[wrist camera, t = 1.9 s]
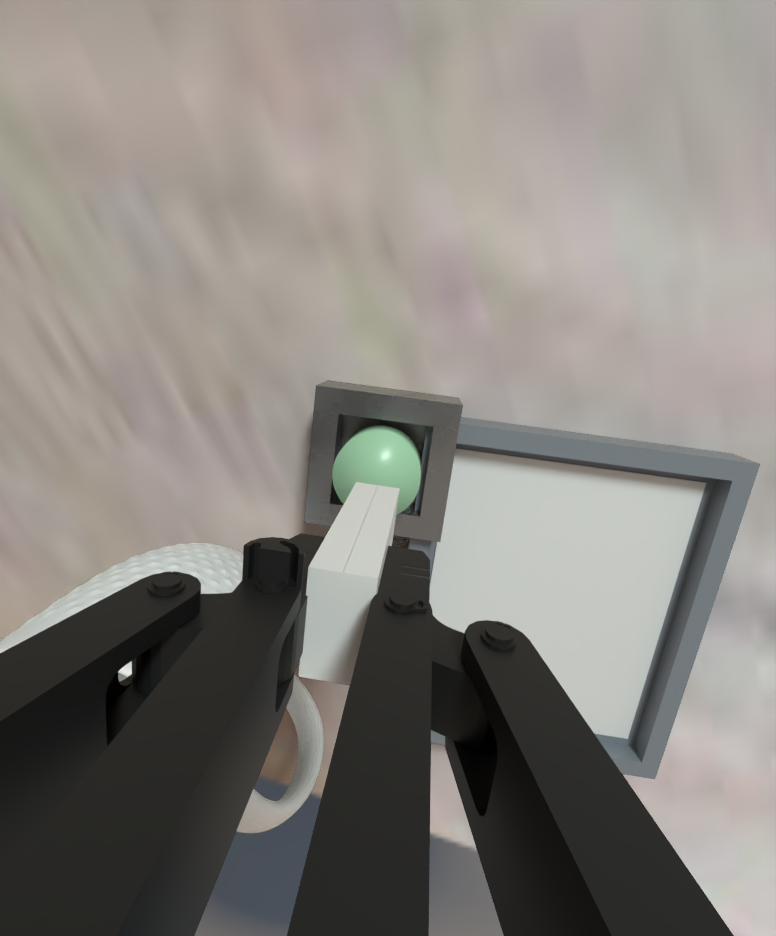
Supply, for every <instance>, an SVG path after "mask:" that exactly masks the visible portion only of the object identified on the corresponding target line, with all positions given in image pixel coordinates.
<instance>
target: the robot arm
mask: <svg viewBox="0 0 776 936" xmlns="http://www.w3.org/2000/svg"><path fill="white" fill-rule="evenodd" d="M399 490H400V488H393V487H387V486H380V485H373V484H366V483H359V482H356V484H355V485H354V487H353V489H352V491H351V492H350V494H349V496H348V498H347V500H346V501H345V503H344V505H343V507H342V508H341V510H340V512H339V514H338V515H337V517H336V519H335V521H334V523H333V524H332V526H331V528H330V530H329V531H328V533H327V535H326V537H320V536H313V535H307V534H299V535H297V536H295V537H293V538H291V539H285V538H274V537H270V538H260V539H256V540H253V541H250V542H248V543H247V544H245V545H244V552H243V572H242V581H241V582H240V583H239V585H238V586H237V587H236V588H235V590H234V591H233V592H231V593H218V594H201V583H200V581H199V580H198V578H196V577H194V576H192V575H190V574H186V573H180V572H175V571H173V572H171V571H169V572H162V573H159V574H153V575H150V576H148V577H145V578H142V579H140V580H138V581H136V582H134V583H133V584H131V585H129V586H127V587H125V588H123V589H121V590H119V591H117V592H115V593H114V594H112V595H110V596H108V597H106V598H104V599H102V600H100V601H98V602H96V603H95V604H93V605H91V606H89V607H87V608H85V609H83V610H81V611H79V612H78V613H76V614H74V615H72V616H70V617H68V618H66V619H64V620H62V621H60V622H59V623H57V624H55V625H53V626H51V627H49V628H47V629H45V630H43V631H41V632H40V633H38V634H36V635H34V636H32V637H30V638H28V639H26V640H24V641H22V642H21V643H19V644H17V645H15V646H13V647H11V648H9V649H7V650H5V651H3V652H2V653H0V936H194V935H195V932H196V930H197V927H198V925H199V922H200V920H201V917H202V915H203V912H204V910H205V907H206V905H207V902H208V900H209V897H210V895H211V892H212V890H213V887H214V885H215V883H216V880H217V878H218V875H219V873H220V870H221V868H222V865H223V863H224V860H225V858H226V855H227V853H228V850H229V848H230V846H231V843H232V841H233V838H234V836H235V833H236V831H237V828H238V826H239V823H240V821H241V818H242V816H243V813H244V811H245V808H246V806H247V803H248V801H249V798H250V796H251V794H252V791H253V789H254V786H255V783H256V781H257V779H258V776H259V774H260V771H261V769H262V766H263V764H264V761H265V759H266V756H267V754H268V751H269V749H270V746H271V744H272V741H273V739H274V737H275V734H276V732H277V729H278V727H279V724H280V722H281V719H282V717H283V714H284V712H285V709H286V707H287V704H288V702H289V699H290V697H291V694H292V691H293V682H294V672H295V669H296V667H297V665H298V662H299V660H300V666H299V677H304V678H310V679H316V680H322V681H328V682H333V683H339V684H345V685H350V687H349V691H348V695H347V699H346V703H345V707H344V711H343V715H342V719H341V723H340V727H339V731H338V735H337V739H336V743H335V747H334V751H333V755H332V759H331V763H330V767H329V771H328V775H327V779H326V783H325V787H324V791H323V795H322V799H321V803H320V806H319V811H318V814H317V818H316V822H315V826H314V831H313V834H312V838H311V842H310V846H309V851H308V854H307V858H306V862H305V867H304V870H303V874H302V878H301V882H300V886H299V890H298V894H297V898H296V902H295V906H294V910H293V914H292V918H291V922H290V926H289V930H288V934H287V936H428V927H429V926H428V925H429V924H428V923H429V847H430V846H429V845H430V767H431V730H432V731H434V732H437V733H439V734H441V735H443V736H445V747H446V751H447V755H448V758H449V761H450V764H451V767H452V771H453V774H454V777H455V780H456V783H457V787H458V790H459V793H460V796H461V800H462V803H463V806H464V809H465V812H466V816H467V819H468V822H469V825H470V828H471V832H472V835H473V838H474V841H475V845H476V848H477V851H478V854H479V857H480V861H481V864H482V867H483V870H484V873H485V877H486V880H487V883H488V886H489V889H490V893H491V896H492V899H493V902H494V905H495V909H496V912H497V915H498V918H499V922H500V925H501V928H502V931H503V934H504V936H733V934H732V933H731V931H730V930H729V928H728V927H727V925H726V924H725V923H724V921H723V920H722V918H721V917H720V915H719V914H718V912H717V911H716V909H715V908H714V907H713V905H712V904H711V902H710V901H709V899H708V898H707V896H706V895H705V894H704V892H703V891H702V889H701V888H700V886H699V885H698V883H697V882H696V880H695V879H694V878H693V876H692V875H691V873H690V872H689V870H688V869H687V867H686V866H685V865H684V863H683V862H682V860H681V859H680V857H679V856H678V854H677V853H676V851H675V850H674V849H673V847H672V846H671V844H670V843H669V841H668V840H667V838H666V837H665V836H664V834H663V833H662V831H661V830H660V828H659V827H658V825H657V824H656V822H655V821H654V820H653V818H652V817H651V815H650V814H649V812H648V811H647V809H646V808H645V807H644V805H643V804H642V802H641V801H640V799H639V798H638V796H637V795H636V793H635V792H634V791H633V789H632V788H631V786H630V785H629V783H628V782H627V780H626V779H625V778H624V776H623V775H622V773H621V772H620V770H619V769H618V767H617V766H616V764H615V763H614V762H613V760H612V759H611V757H610V756H609V754H608V753H607V751H606V750H605V749H604V747H603V746H602V744H601V743H600V741H599V740H598V738H597V737H596V735H595V734H594V733H593V731H592V730H591V728H590V727H589V725H588V724H587V722H586V721H585V720H584V718H583V717H582V715H581V714H580V712H579V711H578V709H577V708H576V706H575V705H574V704H573V702H572V701H571V699H570V698H569V696H568V695H567V693H566V692H565V691H564V689H563V688H562V686H561V685H560V683H559V682H558V680H557V679H556V677H555V676H554V675H553V673H552V672H551V670H550V669H549V667H548V666H547V664H546V663H545V662H544V660H543V659H542V657H541V656H540V654H539V653H538V651H537V650H536V648H535V647H534V646H533V644H532V643H531V641H530V640H529V639H528V638H527V637H526V636H525V635H524V634H523V633H522V632H521V631H519V630H517V629H516V628H514V627H512V626H511V625H508V624H506V623H505V624H504V623H503V622H499V621H489V620H484V621H476V622H474V623H472V624H470V625H468V627H467V629H466V630H465V633H462V632H460V631H457V630H454V629H452V628H450V627H448V626H446V625H444V624H442V623H441V622H439V621H438V620H437V619H436V618H435V617H434V616H433V614H432V608H431V605H430V603H429V597H430V559H429V558H428V557H427V555H426V554H425V553H424V552H423V551H420V550H413V549H407V548H400V547H394V546H392V541H393V534H394V527H395V519H396V512H397V505H398V497H399ZM131 661H132V674H131V675H130V676H128V677H127V678H126V679H124V680H122V681H120V682H119V679H118V671H119V670H120V669H121V668H122V667H124V666H125V665H127V664H128V663H129V662H131Z"/></svg>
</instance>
